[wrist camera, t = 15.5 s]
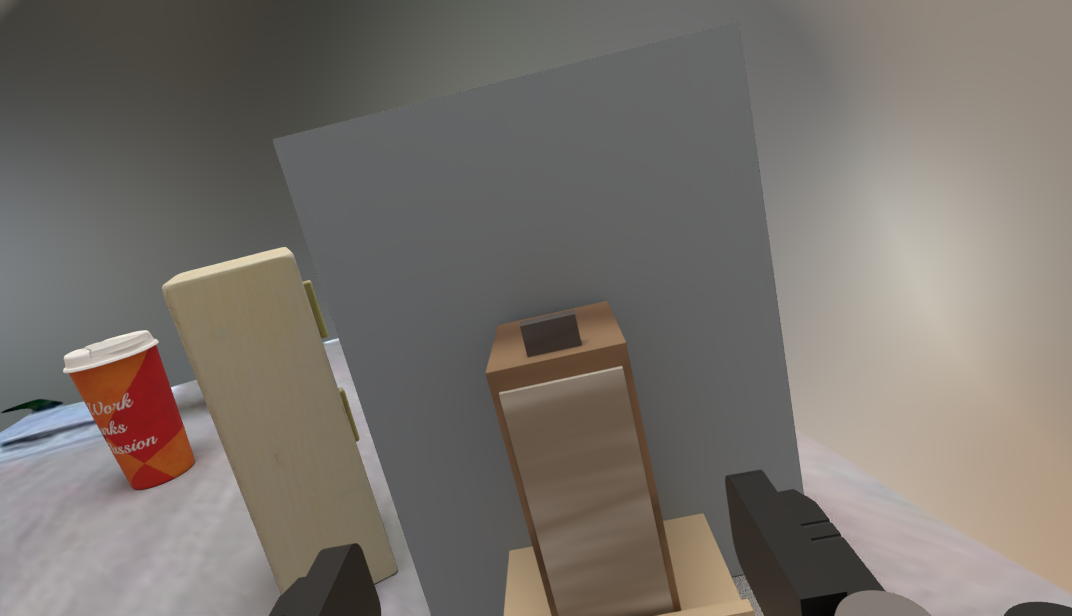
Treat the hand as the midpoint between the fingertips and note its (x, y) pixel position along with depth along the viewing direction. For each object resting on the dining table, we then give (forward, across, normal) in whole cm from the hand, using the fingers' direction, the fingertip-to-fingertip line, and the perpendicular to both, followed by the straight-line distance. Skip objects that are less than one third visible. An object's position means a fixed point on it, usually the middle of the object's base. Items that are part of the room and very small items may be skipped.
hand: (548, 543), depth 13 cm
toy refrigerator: (+22, -16, -16) cm, 32 cm away
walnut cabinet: (+11, +1, -11) cm, 16 cm away
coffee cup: (+45, -44, -17) cm, 65 cm away
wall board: (+15, +1, -15) cm, 22 cm away
